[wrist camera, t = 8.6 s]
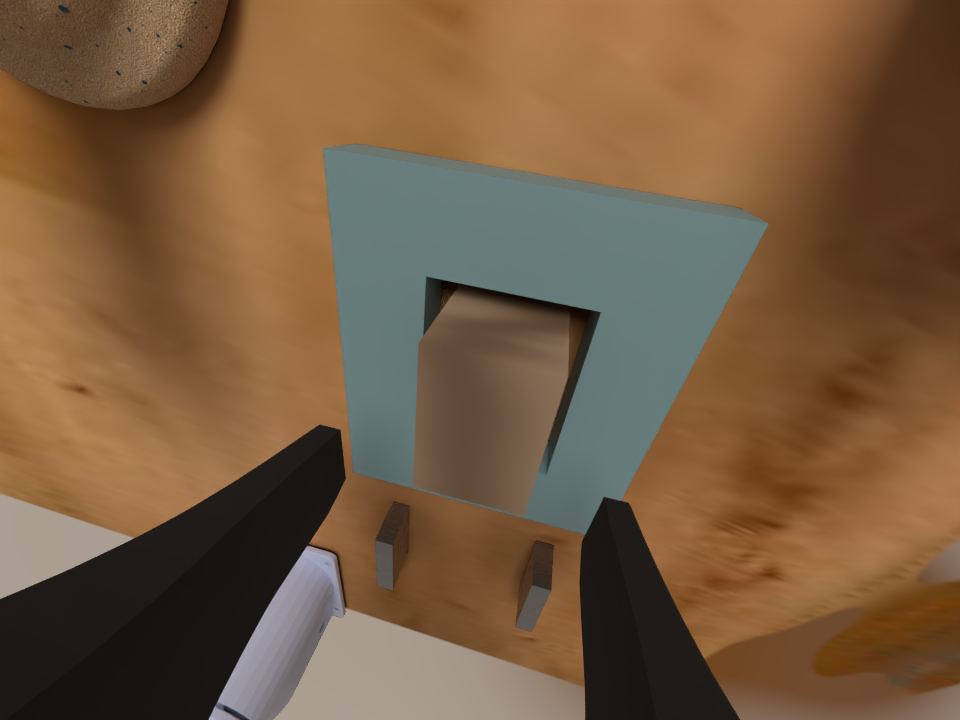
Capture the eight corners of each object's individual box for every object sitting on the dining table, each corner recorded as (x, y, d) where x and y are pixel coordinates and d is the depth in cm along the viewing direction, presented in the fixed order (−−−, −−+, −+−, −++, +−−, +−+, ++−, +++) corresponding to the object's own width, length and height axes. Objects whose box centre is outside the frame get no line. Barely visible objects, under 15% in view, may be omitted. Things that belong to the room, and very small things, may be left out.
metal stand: (535, 588, 24) (531, 632, 22) (393, 547, 25) (377, 585, 23) (553, 545, 22) (551, 590, 19) (393, 501, 23) (374, 540, 20)
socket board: (598, 502, 19) (600, 538, 17) (371, 443, 20) (353, 472, 19) (739, 208, 11) (768, 223, 9) (356, 143, 12) (323, 147, 11)
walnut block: (570, 299, 14) (567, 376, 10) (536, 420, 17) (523, 516, 13) (464, 277, 14) (418, 343, 10) (451, 400, 18) (412, 486, 13)
